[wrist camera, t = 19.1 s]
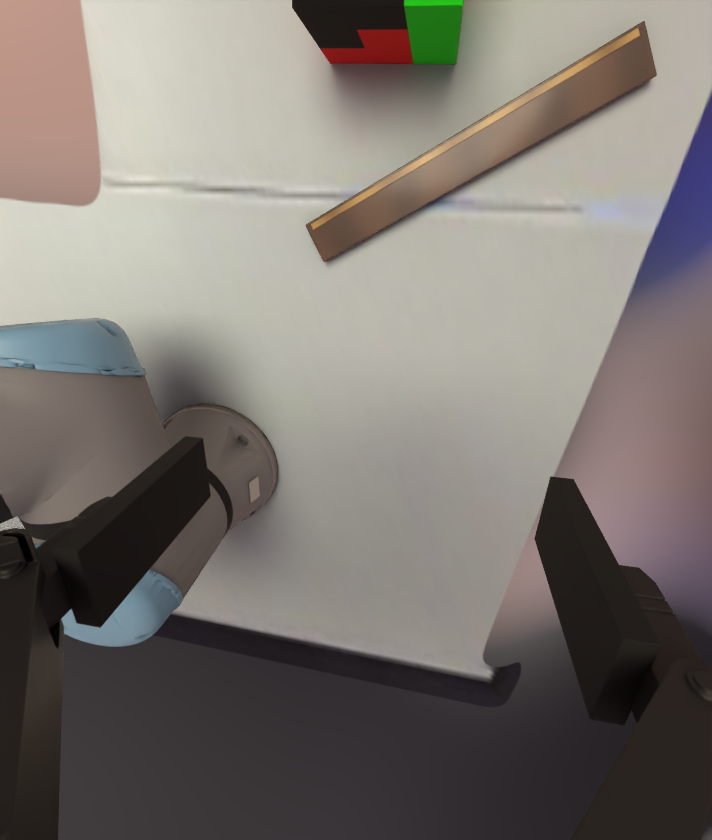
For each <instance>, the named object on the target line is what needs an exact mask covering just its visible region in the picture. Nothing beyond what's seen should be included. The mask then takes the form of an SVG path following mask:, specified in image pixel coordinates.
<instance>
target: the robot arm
mask: <svg viewBox="0 0 712 840" xmlns="http://www.w3.org/2000/svg"><path fill="white" fill-rule="evenodd" d="M144 375H146V372H145V369H144V368H142V367H141V366H140V363H139V361H138V359H137V357H136V354H135V352H134V350H133V347H132V345H131V343H130V341H129V338H128V336H127V334H126V333H125V331H124V330H123V329H122V328H121V327H120V326H119V325H117V324H116V323H114V322H112V321H109V320H106V319H99V318H92V319H75V320H62V321H50V322H39V323H27V324H16V325H5V326H0V523H2V522H5V521H7V520H9V519H11V518H14V517H16V516H18V517H19V519H20V520H21V522H22V524H23V526H24V527H25V529H26V530H25V529H17V528H14V529H8V530H3V531H0V840H58V816H59V782H60V750H61V717H62V716H61V714H62V684H63V682H62V681H63V650H64V634H66V635H68V636H70V637H73V638H75V639H78V640H81V641H84V642H87V643H91V644H96V645H102V646H129V645H133V644H137V643H139V642H142V641H144V640H146V639H148V638H149V637H151V636H152V635H153V634H154V633H156V632H157V631H158V629H159V628H160V627H161V626H162V624H163V623H164V622H165V621H166V619H167V618H168V617H169V615H170V614H171V613H172V612H173V611H174V610H175V609H176V608H178V606H180V604H181V602H182V600H183V598H184V597H185V595H186V594H187V592H188V591H189V589H190V588H191V586H192V585H193V583H194V582H195V580H196V579H197V577H198V575H199V574H200V572H201V571H202V569H203V568H204V566H205V565H206V563H207V562H208V560H209V559H210V557H211V556H212V554H213V553H214V551H215V550H216V548H217V547H218V545H219V543H220V542H221V540H222V539H223V537H224V536H225V535H226V533H227V532H228V530H230V529H231V528H233V527H234V526H235V525H237V524H238V523H239V522H240V521H242V520H245V519H247V518H249V517H250V516H252V515H253V514H255V513H256V512H257V511H258V510H259V509H260V508H261V507H262V506H263V505H264V504H265V503H266V501H267V500H268V498H269V497H270V495H271V494H272V492H273V490H274V487H275V485H276V481H277V462H276V457H275V454H274V452H273V449H272V447H271V445H270V443H269V441H268V440H267V438H266V437H265V436H264V434H263V433H262V432H261V431H260V430H259V428H258V427H257V426H256V425H254V424H253V423H252V422H251V421H250V420H248V419H247V418H246V417H244V416H243V415H241V414H239V413H237V412H235V411H233V410H231V409H229V408H226V407H222V406H218V405H212V404H197V405H192V406H188V407H185V408H183V409H181V410H179V411H178V412H176V413H175V414H173V415H172V416H171V417H169V418H168V419H167V420H166V421H165V422H164V423H163V424H162V422H161V419H160V417H159V414H158V411H157V409H156V406H155V403H154V401H153V398H152V395H151V393H150V390H149V387H148V384H147V381H146V378H145V376H144ZM535 541H536V544H537V548H538V551H539V555H540V558H541V561H542V564H543V568H544V571H545V574H546V577H547V581H548V584H549V587H550V590H551V594H552V597H553V600H554V604H555V607H556V610H557V613H558V617H559V620H560V623H561V626H562V630H563V633H564V636H565V639H566V642H567V646H568V649H569V653H570V656H571V659H572V662H573V665H574V669H575V672H576V676H577V679H578V682H579V685H580V689H581V692H582V695H583V698H584V701H585V705H586V708H587V711H588V714H589V718H590V719H592V720H598V721H603V722H609V723H614V724H619V725H624V724H625V722H626V720H627V718H628V716H629V714H630V712H631V710H632V712H633V714H634V717H635V720H636V722H637V725H636V726H635V728H634V730H633V732H632V734H631V735H630V737H629V739H628V741H627V742H626V744H625V746H624V748H623V749H622V751H621V753H620V755H619V756H618V758H617V760H616V762H615V763H614V765H613V767H612V768H611V770H610V772H609V774H608V775H607V777H606V779H605V781H604V782H603V784H602V786H601V788H600V789H599V791H598V793H597V795H596V796H595V798H594V800H593V802H592V803H591V805H590V807H589V809H588V811H587V812H586V814H585V816H584V817H583V819H582V821H581V823H580V824H579V826H578V828H577V829H576V831H575V833H574V835H573V836H572V838H571V840H701V838H702V835H703V832H704V829H705V827H706V824H707V821H708V818H709V815H710V812H711V810H712V667H711V666H709V665H707V664H705V663H704V662H703V661H702V659H701V657H700V656H699V654H698V652H697V651H696V649H695V647H694V646H693V644H692V642H691V641H690V639H689V638H688V636H687V634H686V633H685V631H684V629H683V628H682V626H681V624H680V623H679V621H678V619H677V618H676V616H675V615H674V614H673V613H672V612H673V611H672V609H671V608H670V606H669V605H668V603H667V601H665V598H664V596H663V595H662V593H661V591H660V590H659V588H658V586H657V585H656V583H655V582H654V581H653V580H652V579H651V578H649V576H647V575H646V574H645V573H644V572H643V571H642V570H641V569H640V568H636V567H629V566H622V565H619V564H618V563H617V561H616V559H615V557H614V555H613V553H612V551H611V549H610V547H609V546H608V544H607V542H606V540H605V538H604V536H603V534H602V532H601V530H600V528H599V527H598V525H597V523H596V521H595V519H594V517H593V516H592V513H591V511H590V510H589V508H588V506H587V504H586V502H585V500H584V498H583V496H582V495H581V493H580V491H579V489H578V487H577V485H576V483H575V482H574V479H566V478H557V477H550V480H549V484H548V488H547V492H546V496H545V500H544V504H543V508H542V512H541V516H540V520H539V524H538V527H537V531H536V535H535Z"/></svg>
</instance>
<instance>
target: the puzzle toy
mask: <svg viewBox="0 0 712 840" xmlns="http://www.w3.org/2000/svg"><path fill="white" fill-rule="evenodd" d="M463 3H464V0H292V8H293V9H294V11H295V12H296V14H297V15H298V17H299V18H300V20H301V21H302V22H303V24H304V25H305V27H306V28H307V30H308V31H309V33H310V34H311V36H312V37H313V39H314V40H315V42H316V43H317V45H318V46H319V48H320V49H321V51H322V52H323V53H324V55H325V56H326V58H327V59H328V61H329V62H330V63H347V64H456V62H457V54H458V45H459V37H460V29H461V20H462V12H463Z"/></svg>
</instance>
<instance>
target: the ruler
mask: <svg viewBox="0 0 712 840" xmlns="http://www.w3.org/2000/svg"><path fill="white" fill-rule="evenodd" d="M656 75H657V74H656V69H655V65H654V61H653V56H652V52H651V48H650V43H649V39H648V34H647V30H646V26H645V21H643V22H641V23H640V24H638V25H636V26H635V27H633V28H631V29H630V30H628V31H626V32H625V33H623V34H621V35H620V36H618V37H616V38H615V39H613V40H611V41H610V42H608V43H607V44H605V45H603V46H602V47H600V48H598V49H597V50H595V51H593V52H592V53H590V54H588V55H587V56H585V57H583V58H582V59H580V60H578V61H577V62H575V63H573V64H572V65H570V66H568V67H567V68H565V69H563V70H562V71H560V72H558V73H557V74H555V75H553V76H552V77H550V78H548V79H547V80H545V81H543V82H542V83H540V84H538V85H537V86H535V87H534V88H532V89H530V90H529V91H527V92H525V93H524V94H522V95H520V96H519V97H517V98H515V99H514V100H512V101H510V102H509V103H507V104H505V105H504V106H502V107H500V108H499V109H497V110H495V111H494V112H492V113H490V114H489V115H487V116H485V117H484V118H482V119H480V120H479V121H477V122H475V123H474V124H472V125H470V126H469V127H467V128H466V129H464V130H462V131H461V132H459V133H457V134H456V135H454V136H452V137H451V138H449V139H447V140H446V141H444V142H442V143H441V144H439V145H437V146H436V147H434V148H432V149H431V150H429V151H427V152H426V153H424V154H422V155H421V156H419V157H417V158H416V159H414V160H412V161H411V162H409V163H407V164H406V165H404V166H402V167H401V168H399V169H397V170H396V171H394V172H393V173H391V174H389V175H388V176H386V177H384V178H383V179H381V180H379V181H378V182H376V183H374V184H373V185H371V186H369V187H368V188H366V189H364V190H363V191H361V192H359V193H358V194H356V195H354V196H353V197H351V198H349V199H348V200H346V201H344V202H343V203H341V204H339V205H338V206H336V207H334V208H333V209H331V210H329V211H328V212H326V213H324V214H323V215H321V216H320V217H318V218H316V219H315V220H313V221H311V222H310V223H308V224H306V227H307V229H308V231H309V233H310V235H311V237H312V239H313V241H314V243H315V245H316V247H317V249H318V251H319V253H320V255H321V257H322V259H323V261H327V260H329V259H331V258H332V257H334V256H336V255H338V254H340V253H341V252H343V251H345V250H347V249H349V248H350V247H352V246H354V245H356V244H358V243H359V242H361V241H363V240H365V239H366V238H368V237H370V236H372V235H374V234H375V233H377V232H379V231H381V230H383V229H384V228H386V227H388V226H390V225H392V224H393V223H395V222H397V221H399V220H400V219H402V218H404V217H406V216H408V215H409V214H411V213H413V212H415V211H417V210H418V209H420V208H422V207H424V206H426V205H427V204H429V203H431V202H433V201H434V200H436V199H438V198H440V197H442V196H443V195H445V194H447V193H449V192H451V191H452V190H454V189H456V188H458V187H459V186H461V185H463V184H465V183H467V182H468V181H470V180H472V179H474V178H476V177H477V176H479V175H481V174H483V173H485V172H486V171H488V170H490V169H492V168H493V167H495V166H497V165H499V164H501V163H502V162H504V161H506V160H508V159H510V158H511V157H513V156H515V155H517V154H519V153H520V152H522V151H524V150H526V149H527V148H529V147H531V146H533V145H535V144H536V143H538V142H540V141H542V140H544V139H545V138H547V137H549V136H551V135H552V134H554V133H556V132H558V131H560V130H561V129H563V128H565V127H567V126H569V125H570V124H572V123H574V122H576V121H578V120H579V119H581V118H583V117H585V116H586V115H588V114H590V113H592V112H594V111H595V110H597V109H599V108H601V107H603V106H604V105H606V104H608V103H610V102H612V101H613V100H615V99H617V98H619V97H620V96H622V95H624V94H626V93H628V92H629V91H631V90H633V89H635V88H637V87H638V86H640V85H642V84H644V83H645V82H647V81H649V80H651V79H652V78H653V77H655V76H656Z"/></svg>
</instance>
